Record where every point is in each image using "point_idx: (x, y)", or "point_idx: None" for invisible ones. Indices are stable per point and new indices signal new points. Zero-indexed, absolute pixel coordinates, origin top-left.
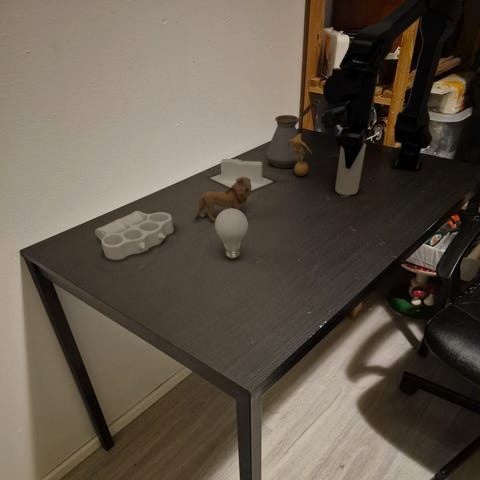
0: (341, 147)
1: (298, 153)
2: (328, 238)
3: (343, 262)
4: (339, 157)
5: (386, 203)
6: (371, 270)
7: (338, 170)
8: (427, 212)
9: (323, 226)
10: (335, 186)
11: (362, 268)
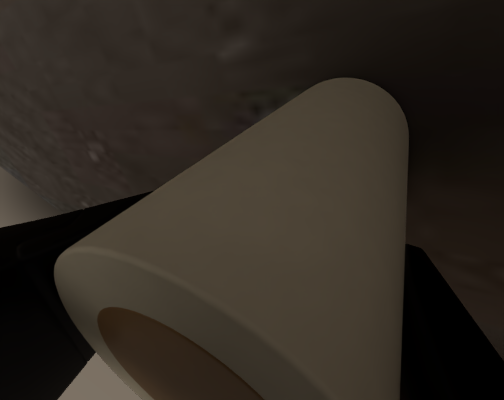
0: (116, 219)
1: None
2: (33, 92)
3: (5, 130)
4: (247, 145)
5: None
6: (23, 176)
7: (270, 115)
8: None
9: (61, 68)
10: (333, 81)
11: (17, 163)
